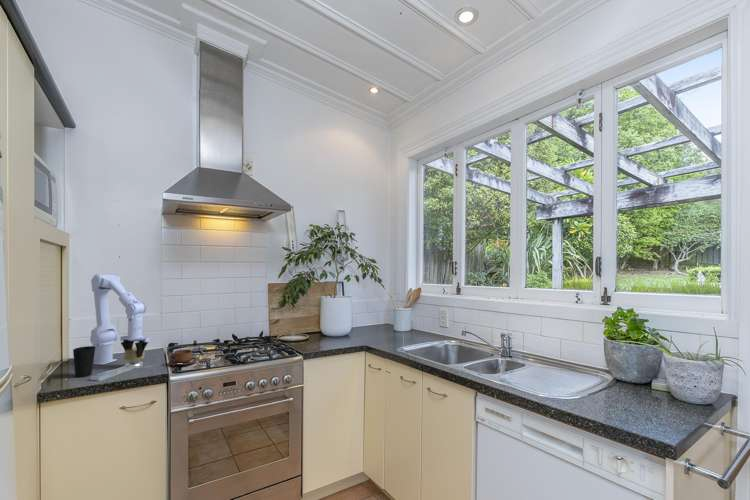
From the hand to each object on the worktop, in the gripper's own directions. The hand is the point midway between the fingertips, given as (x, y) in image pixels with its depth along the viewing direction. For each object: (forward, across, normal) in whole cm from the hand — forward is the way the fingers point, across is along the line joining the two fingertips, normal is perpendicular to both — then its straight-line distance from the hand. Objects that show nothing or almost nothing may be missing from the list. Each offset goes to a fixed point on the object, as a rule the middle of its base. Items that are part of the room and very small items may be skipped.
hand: (134, 356), depth 165 cm
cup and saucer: (+6, -19, -10) cm, 22 cm away
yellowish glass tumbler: (+2, 0, 0) cm, 2 cm away
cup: (+5, +11, +15) cm, 19 cm away
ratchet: (+5, 0, +8) cm, 9 cm away
